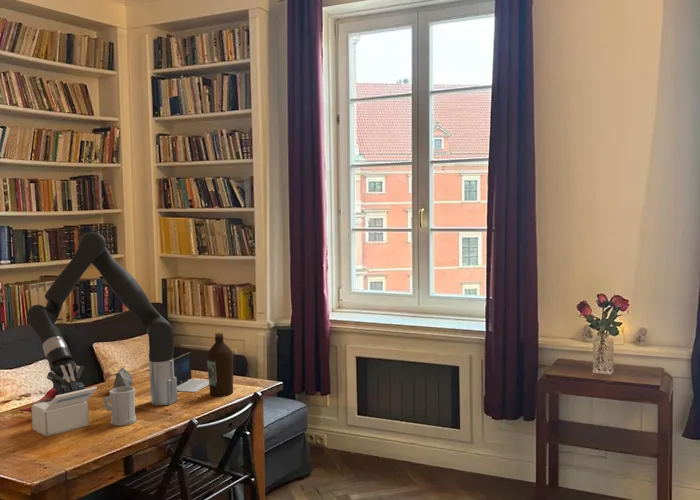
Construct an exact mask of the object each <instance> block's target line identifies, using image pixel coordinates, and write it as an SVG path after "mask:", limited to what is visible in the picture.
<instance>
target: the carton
mask: <svg viewBox="0 0 700 500" xmlns="http://www.w3.org/2000/svg"><path fill="white" fill-rule="evenodd" d="M51 402H52V401H50V402H46V403H45V402H42V403H37V404H34V403H33V404H32V405H33V406H32V405H31V406H30V407H31V412H30V413H31V425H32V426H31V428H32V430H33V431H34V432H37V433H39V434H41V435H42V436H44V437H46V438H47V437H52V436H55V435H58V434H63V433H66V432H69V431H73V430H76V429H77V430H78V429H81V428H84V427H89V426H90V415H89V402H88V400H87V401H83V402H79V403H75V404H71V405H67V406H63V407H58V408H54V409H50V410H47V407H48V406H49V404H50V403H51Z"/></svg>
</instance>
